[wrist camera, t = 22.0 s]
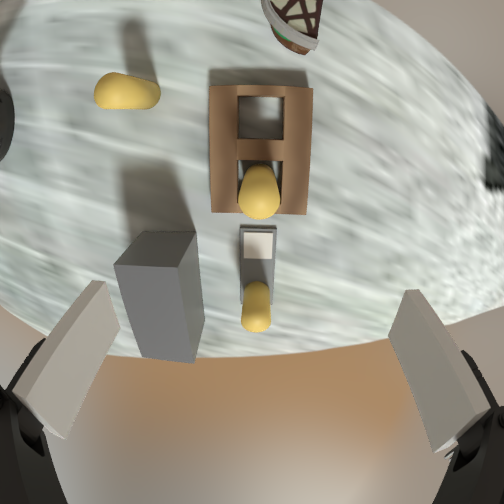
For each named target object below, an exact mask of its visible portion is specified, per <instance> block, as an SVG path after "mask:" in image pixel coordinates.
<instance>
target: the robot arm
mask: <svg viewBox="0 0 504 504" xmlns="http://www.w3.org/2000/svg"><path fill="white" fill-rule="evenodd" d="M13 129H14V109H13V104H12V100H11V98H10V96H9V94H8V93H7V92H5V91H3V90H0V161H1V160H2V159H3V158H4V157H5V155H6V153H7V151H8V149H9V147H10V144H11V140H12V136H13ZM119 330H120V325H119V322H118V319H117V316H116V313H115V310H114V307H113V304H112V301H111V298H110V295H109V292H108V288H107V285H106V282H105V281H94V280H92V281H91V282H90V284H89V285H88V286H87V287H86V288H85V289H84V291H83V292H82V293H81V294H80V296H79V297H78V298H77V299H76V300H75V302H74V303H73V304H72V305H71V307H70V308H69V309H68V310H67V312H66V313H65V314H64V316H63V317H62V318H61V320H60V321H59V322H58V323H57V325H56V326H55V327H54V329H53V330H52V332H51V333H50V334H49V336H48V337H47V339H46V338H44V339H42V340H41V341H40V342H39V343H37V344H36V345H35V346H34V347H33V349H32V350H31V352H30V353H29V356H27V357H26V359H25V360H24V363H22V365H21V367H20V368H19V369H18V371H17V372H16V374H15V376H14V377H13V379H12V380H11V382H10V384H9V385H8V387H7V389H6V390H4V389H3V388H2V387H1V385H0V504H68V503H67V501H66V498H65V496H64V493H63V491H62V488H61V485H60V483H59V480H58V477H57V474H56V471H55V468H54V465H53V462H52V458H51V455H50V452H49V448H48V444H47V440H46V436H45V434H44V432H43V431H42V429H43V427H44V426H45V427H46V428H47V429H48V430H49V431H50V432H51V433H52V434H54V435H56V436H58V437H61V438H63V439H65V440H66V439H67V437H68V434H69V432H70V429H71V427H72V425H73V423H74V420H75V418H76V416H77V413H78V411H79V409H80V407H81V405H82V403H83V400H84V398H85V396H86V394H87V392H88V390H89V388H90V386H91V384H92V382H93V379H94V378H95V375H96V374H97V371H98V370H99V368H100V365H101V364H102V362H103V360H104V358H105V356H106V354H107V352H108V350H109V348H110V347H111V345H112V343H113V341H114V339H115V337H116V335H117V334H118V332H119ZM388 337H389V339H390V342H391V344H392V346H393V348H394V351H395V353H396V355H397V357H398V360H399V362H400V364H401V367H402V369H403V371H404V374H405V376H406V379H407V381H408V383H409V386H410V389H411V391H412V394H413V397H414V399H415V402H416V404H417V407H418V410H419V413H420V415H421V418H422V421H423V424H424V427H425V430H426V432H427V436H428V439H429V442H430V445H431V448H432V452H433V453H435V452H438V451H440V450H443V449H445V448H448V447H449V446H450V445H452V444H453V443H454V442H455V441H456V440H457V441H458V445H457V446H456V447H455V448H454V449H452V450H451V451H450V452H449V453H447V454H446V456H445V458H444V459H447V458H448V457H450V456H451V455H452V454H453V456H452V457H451V458H450V459H449V461H450V464H449V466H448V469H447V472H446V474H445V477H444V479H443V481H442V484H441V486H440V488H439V491H438V493H437V495H436V497H435V499H434V501H433V503H432V504H504V406H501V407H499V405H498V404H497V402H496V400H495V398H494V396H493V394H492V392H491V390H490V388H489V386H488V385H487V383H486V381H485V379H484V377H482V374H481V372H480V370H478V367H477V365H476V363H475V362H474V360H473V358H472V357H471V356H469V354H468V353H466V352H465V351H464V350H462V351H460V350H459V348H458V346H457V345H456V343H455V342H454V340H453V338H452V337H451V335H450V334H449V332H448V331H447V329H446V328H445V326H444V324H443V323H442V321H441V320H440V319H439V317H438V316H437V314H436V313H435V311H434V310H433V308H432V307H431V305H430V304H429V303H428V301H427V300H426V298H425V297H424V296H423V294H422V293H421V292H420V290H419V289H417V290H405V293H404V296H403V298H402V301H401V304H400V307H399V309H398V312H397V315H396V317H395V320H394V322H393V325H392V327H391V330H390V332H389V334H388Z"/></svg>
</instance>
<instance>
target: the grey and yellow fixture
mask: <svg viewBox="0 0 504 504" xmlns="http://www.w3.org/2000/svg"><path fill="white" fill-rule="evenodd" d="M276 235H277V228H245V227H240V265H241V304H243V306H242V316H241V324H242V326H243V327H244V328H245V329H246V330H248V331H250V332H262V331H264V330H266V329H267V328H268V327H269V326H270V324H271V313H270V305H272V300H273V285H274V269H275V252H276Z"/></svg>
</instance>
